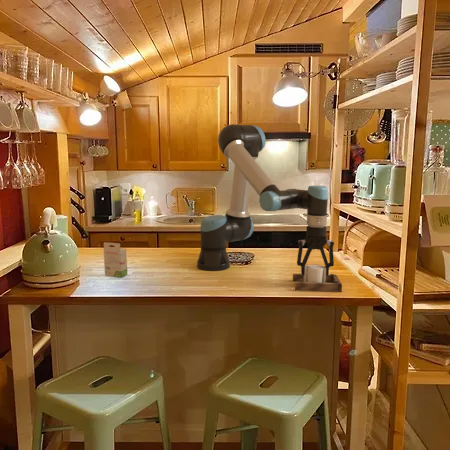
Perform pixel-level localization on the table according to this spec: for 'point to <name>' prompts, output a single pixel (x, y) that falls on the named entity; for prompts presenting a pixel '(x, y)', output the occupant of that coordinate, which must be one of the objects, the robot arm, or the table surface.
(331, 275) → the tray
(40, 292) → the table surface
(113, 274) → the ink box
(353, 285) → the table surface
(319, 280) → the white cup
